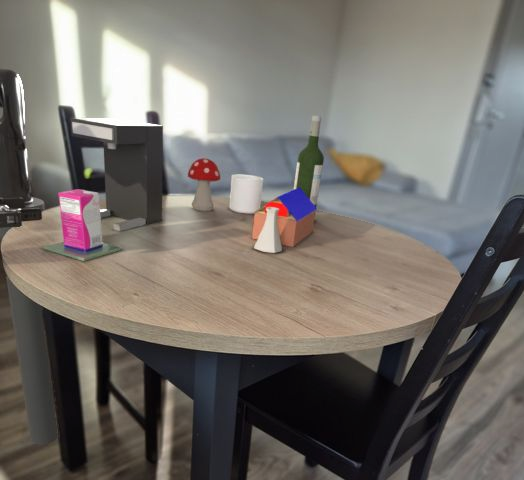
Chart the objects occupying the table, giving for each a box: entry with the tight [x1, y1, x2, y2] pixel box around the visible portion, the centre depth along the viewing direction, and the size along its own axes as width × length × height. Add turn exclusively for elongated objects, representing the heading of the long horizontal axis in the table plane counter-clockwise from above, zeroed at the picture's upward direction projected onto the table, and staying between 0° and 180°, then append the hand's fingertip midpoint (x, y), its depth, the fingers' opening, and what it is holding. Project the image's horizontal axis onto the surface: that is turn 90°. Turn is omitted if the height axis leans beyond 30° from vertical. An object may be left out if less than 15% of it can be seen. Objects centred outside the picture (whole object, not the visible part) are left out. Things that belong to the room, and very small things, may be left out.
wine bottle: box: [293, 114, 325, 220], centre depth 147 cm, size 8×8×30 cm
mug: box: [228, 173, 264, 215], centre depth 156 cm, size 13×10×10 cm
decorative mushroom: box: [187, 157, 221, 212], centre depth 148 cm, size 10×9×15 cm
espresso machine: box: [69, 117, 164, 232], centre depth 123 cm, size 14×18×24 cm
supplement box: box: [58, 188, 103, 252], centre depth 101 cm, size 6×6×12 cm
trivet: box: [43, 241, 122, 262], centre depth 104 cm, size 11×11×1 cm
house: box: [251, 187, 318, 248], centre depth 131 cm, size 12×20×12 cm, turn 160°
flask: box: [253, 207, 283, 254], centre depth 117 cm, size 7×7×10 cm
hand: (32, 208), depth 94 cm, fingers open, 8 cm apart
